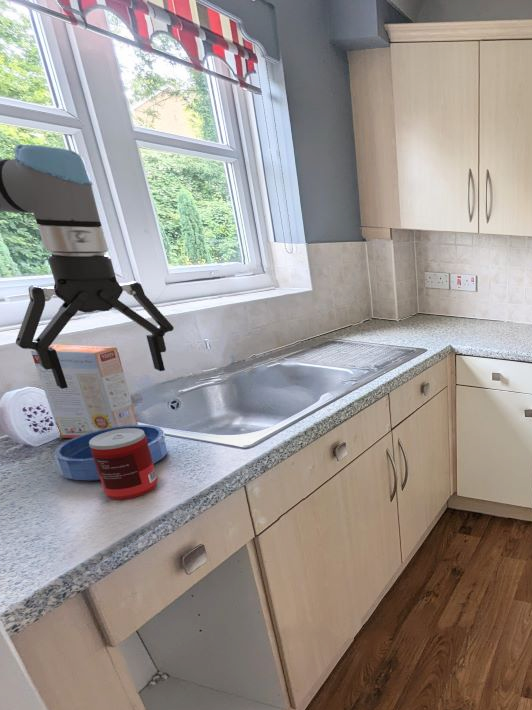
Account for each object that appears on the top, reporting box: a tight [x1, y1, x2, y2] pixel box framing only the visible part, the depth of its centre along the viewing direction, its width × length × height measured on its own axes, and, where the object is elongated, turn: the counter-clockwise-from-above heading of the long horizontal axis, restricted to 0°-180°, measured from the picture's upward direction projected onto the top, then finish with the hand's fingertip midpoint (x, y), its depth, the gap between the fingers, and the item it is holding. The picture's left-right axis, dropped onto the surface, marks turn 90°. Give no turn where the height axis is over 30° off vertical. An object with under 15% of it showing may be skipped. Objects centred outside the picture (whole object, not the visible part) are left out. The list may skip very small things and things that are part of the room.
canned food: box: [89, 428, 158, 501], centre depth 83 cm, size 8×8×11 cm
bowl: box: [53, 424, 169, 482], centre depth 93 cm, size 17×17×5 cm
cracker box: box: [30, 343, 139, 439], centre depth 102 cm, size 14×6×21 cm, turn 88°
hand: (114, 377), depth 81 cm, fingers open, 13 cm apart
